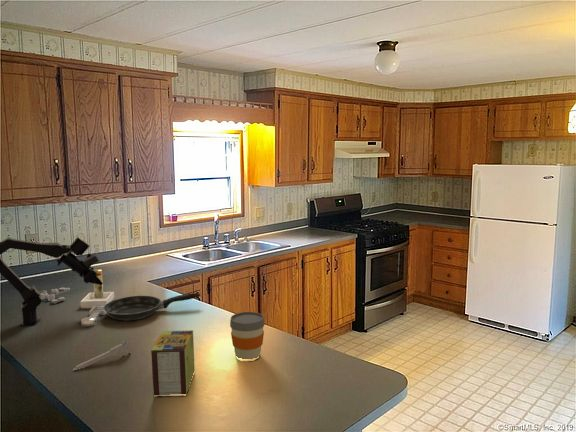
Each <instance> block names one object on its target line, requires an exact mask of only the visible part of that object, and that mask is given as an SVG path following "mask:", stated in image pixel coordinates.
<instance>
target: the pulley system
mask: <svg viewBox="0 0 576 432" xmlns="http://www.w3.org/2000/svg"><path fill="white" fill-rule="evenodd" d="M70 290H71V288H70V287H60V288H52V289H51V293H48V291H47V290H39V291H40V296H41V301H42V300H47V302H48V301H49V302H51V303H50V304H55V305H56V304H57V303H60V302H62V301H65V300H66V298H65V297H64V296H58V295H60V294H63V293H66V292H70Z"/></svg>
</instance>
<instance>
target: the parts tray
mask: <svg viewBox="0 0 576 432" xmlns="http://www.w3.org/2000/svg"><path fill="white" fill-rule="evenodd" d="M103 295H104V297H103V298H94V292H89V293H88V294H86V296H85V297H83V298H82V300H80V309H92V308H93V307H94V306H105V305H106V304H108V303H109V302H111V301H114V299H115V292H114V291H106V292H105V291H103Z"/></svg>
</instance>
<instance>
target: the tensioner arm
mask: <svg viewBox="0 0 576 432" xmlns="http://www.w3.org/2000/svg"><path fill="white" fill-rule="evenodd" d="M106 314H108V313H107V312H106V311H105V310H104V306H94V307H93V308H90V310H89V311H88V316H86V317H83V318H81V320H80V322H81V327H82V326H83V328H91V327H94V326H96V325H97V320H98V319H99V317H100V316H105V315H106ZM97 318H98V319H97ZM95 324H96V325H95ZM93 325H94V326H93ZM90 326H91V327H90Z"/></svg>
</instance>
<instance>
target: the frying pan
mask: <svg viewBox="0 0 576 432" xmlns="http://www.w3.org/2000/svg"><path fill="white" fill-rule="evenodd" d="M200 296H201V293H199V292H197V293H196V292H195V293H186V294H185V293H184V294H180V295H176V296H172V297H170V298H167V299H164V300H162V301H161V299H160V298H159V297H156V296H151V295H133V296H132V295H131V296H125V297H121V298H117V299H115V300H114V299H113V301H111V302H109V303H108V304H106V305H105V306H104V310H105V311H106V312H107V313H106V314H107V315H108V316H109V317H111V318H113V319H114V320H118V321H126V322H127V321H136V320H141V319H145V318H147V317H149V316H151V315H153V314H154V313H156V312H157V311H159V310H163V309H165V310H166V309H167V308H168V307H169V305H170V304H172V303H175V302H184V301H187V300H192V299H196V298H199V297H200Z"/></svg>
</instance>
